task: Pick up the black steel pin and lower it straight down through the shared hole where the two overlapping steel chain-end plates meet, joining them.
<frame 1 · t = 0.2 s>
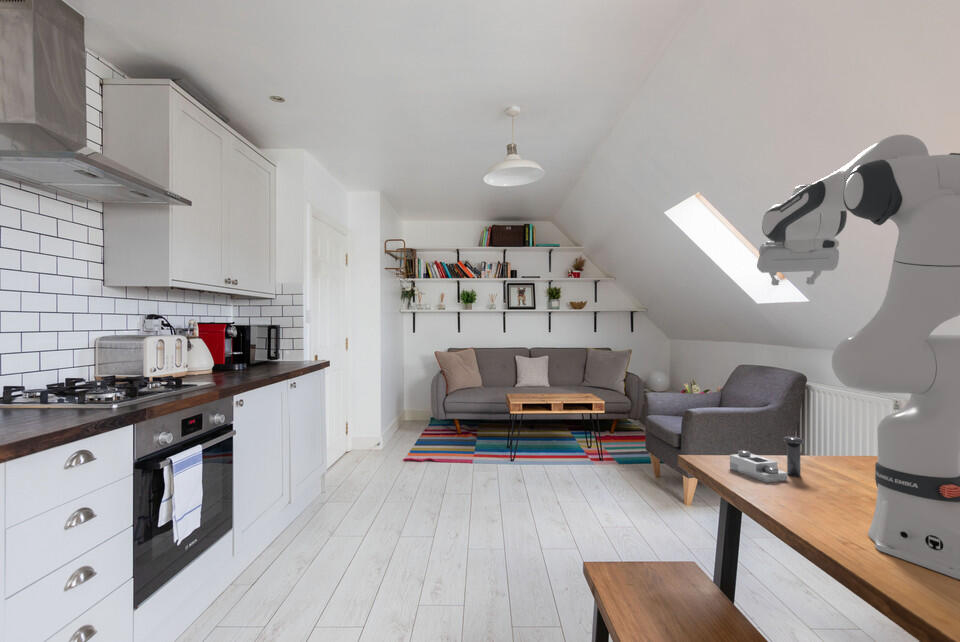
hand: (792, 284, 140), 53 cm above the table, fingers open, 8 cm apart
pin: (793, 475, 125), on the table
chain ends: (757, 474, 126), on the table
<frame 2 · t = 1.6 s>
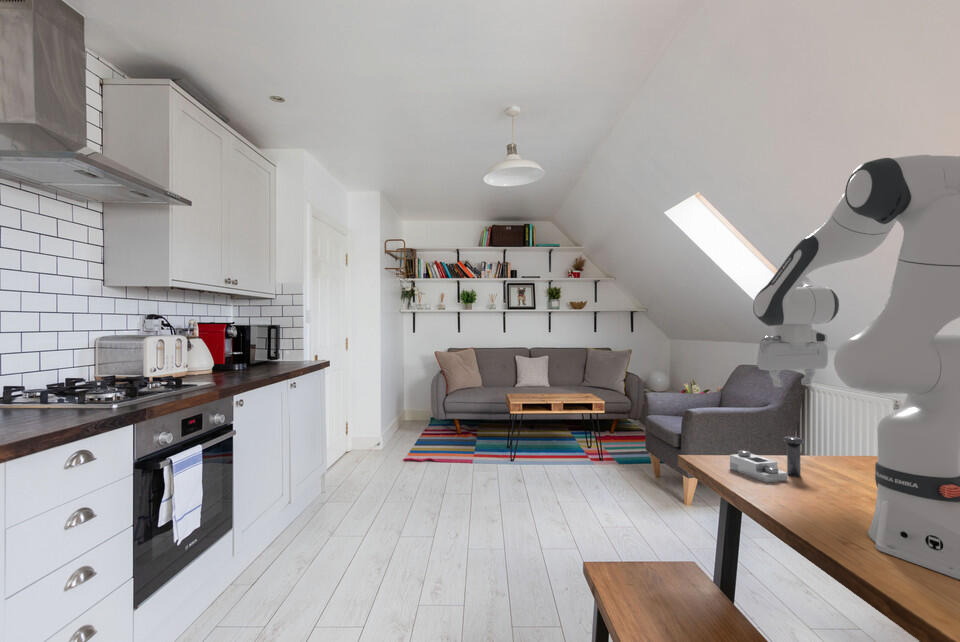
hand: (792, 385, 127), 24 cm above the table, fingers open, 8 cm apart
nothing on the table moved.
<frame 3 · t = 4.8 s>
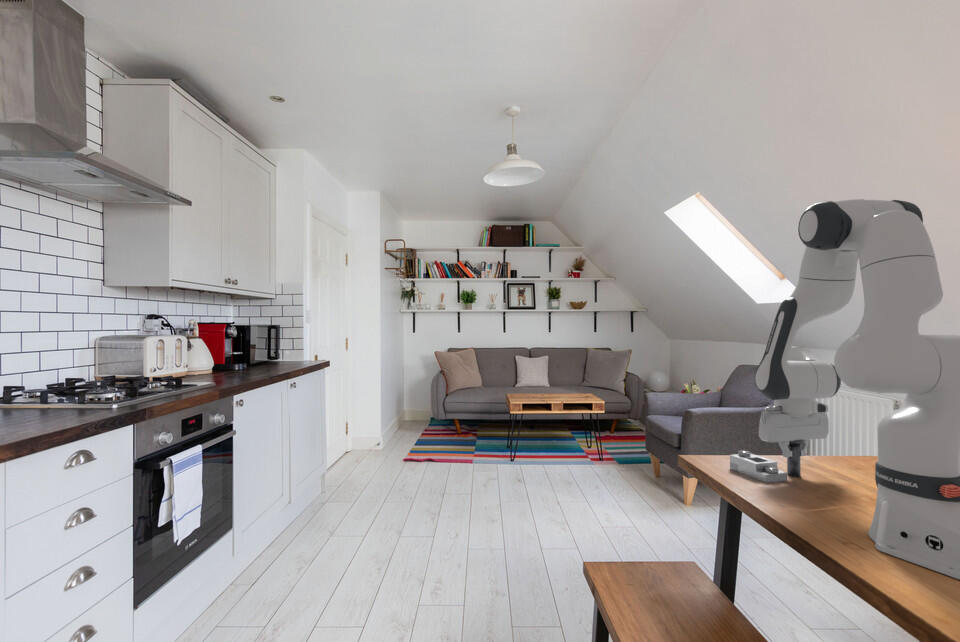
hand: (793, 456, 125), 5 cm above the table, fingers closed on pin, 3 cm apart
pin: (793, 475, 125), on the table, touching gripper
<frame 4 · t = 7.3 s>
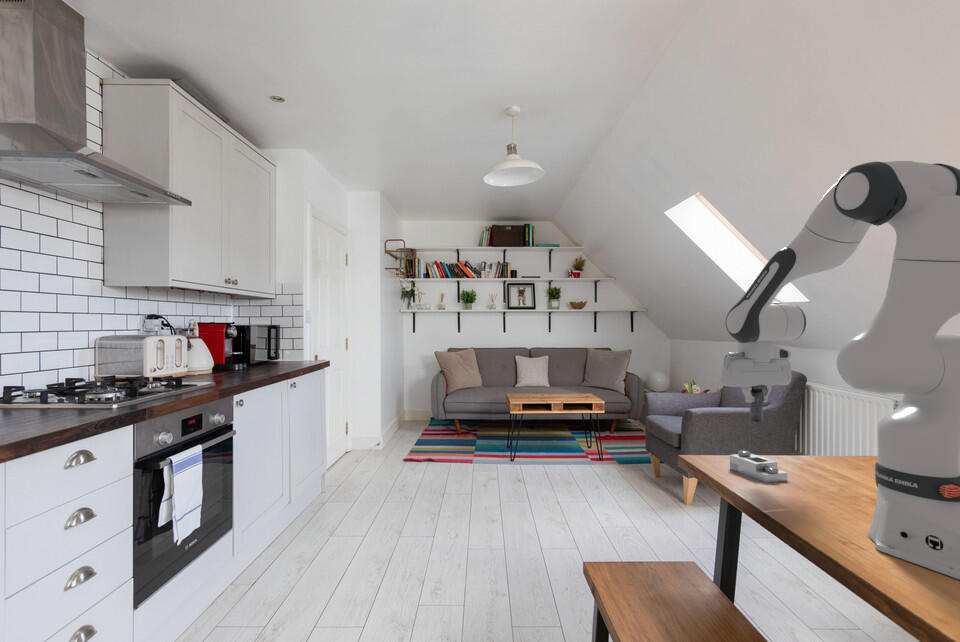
hand: (756, 402, 126), 20 cm above the table, fingers closed on pin, 3 cm apart
pin: (756, 421, 127), point 15 cm above the table, touching gripper
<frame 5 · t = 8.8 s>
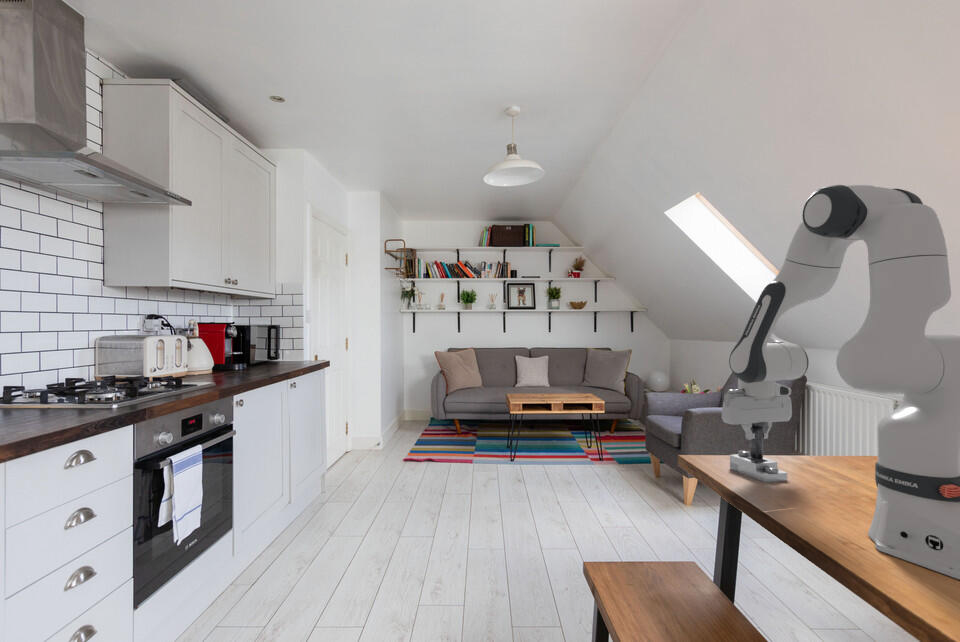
hand: (756, 438, 126), 10 cm above the table, fingers closed on pin, 3 cm apart
pin: (756, 457, 126), point 5 cm above the table, touching gripper
when the fingers open (7 cm above the table, at t = 10.1 s): pin drops 1 cm, resting in chain ends.
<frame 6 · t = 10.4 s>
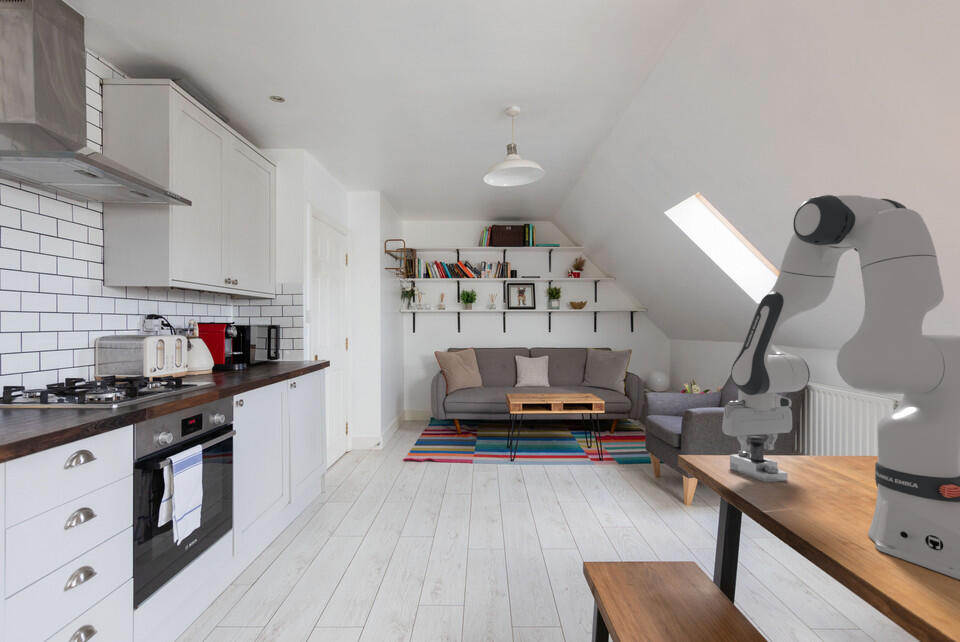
hand: (757, 450, 126), 7 cm above the table, fingers open, 6 cm apart
pin: (757, 474, 126), resting in chain ends
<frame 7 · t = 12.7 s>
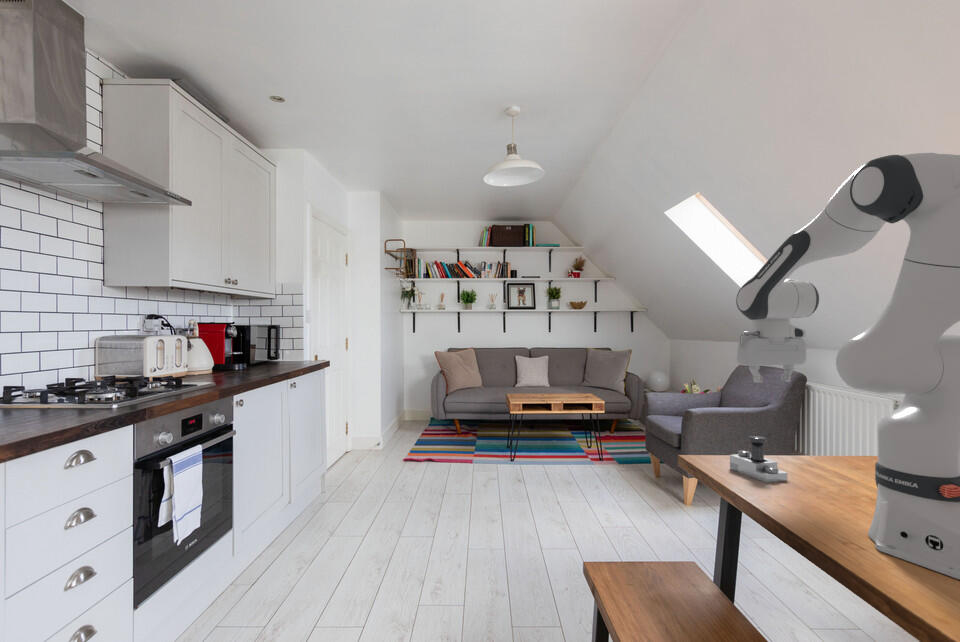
hand: (772, 381, 126), 25 cm above the table, fingers open, 8 cm apart
nothing on the table moved.
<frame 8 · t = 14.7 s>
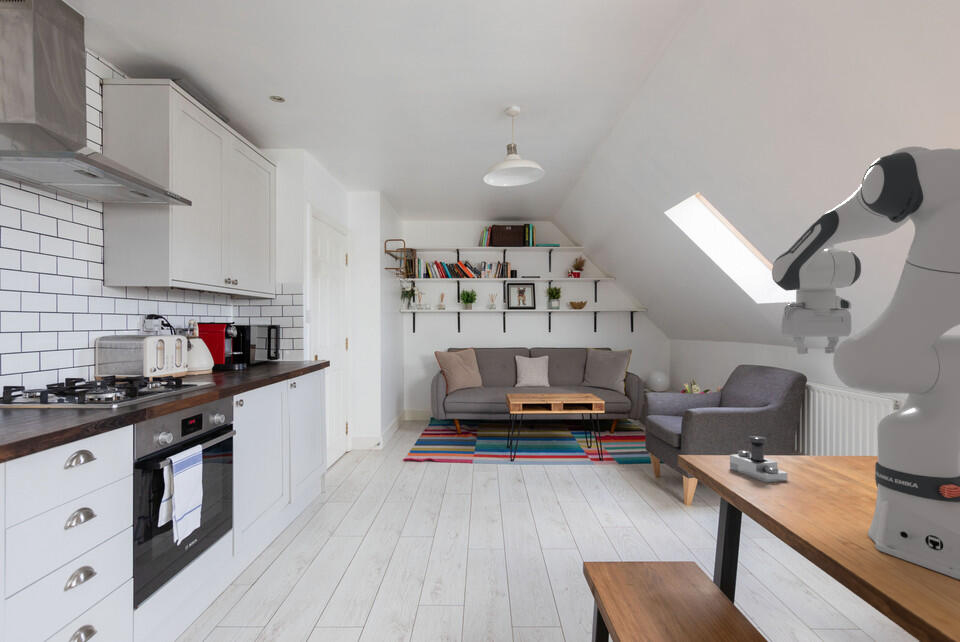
hand: (816, 353, 125), 33 cm above the table, fingers open, 8 cm apart
nothing on the table moved.
at the end: pin 0.0 cm off-centre on the chain ends, point 0.0 cm above the chain ends's base; pin tilted 0°; the gripper is holding nothing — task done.
